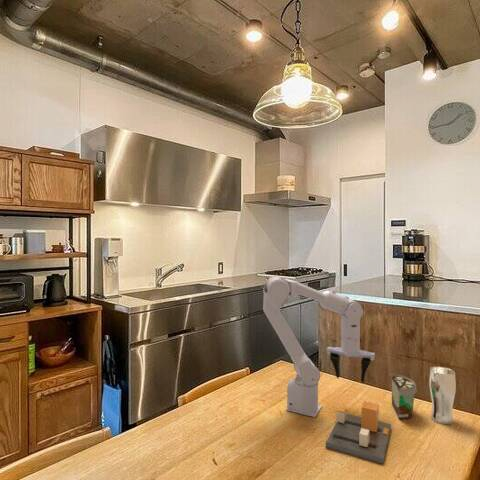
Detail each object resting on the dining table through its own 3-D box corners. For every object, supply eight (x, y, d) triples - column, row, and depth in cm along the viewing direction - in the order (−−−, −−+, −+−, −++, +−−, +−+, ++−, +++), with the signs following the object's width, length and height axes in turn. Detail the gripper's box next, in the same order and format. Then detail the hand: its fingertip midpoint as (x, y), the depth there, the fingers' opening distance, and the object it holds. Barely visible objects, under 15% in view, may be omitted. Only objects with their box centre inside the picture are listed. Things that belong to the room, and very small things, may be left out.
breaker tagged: (337, 421, 103) (337, 410, 103) (339, 416, 106) (339, 405, 106) (344, 423, 102) (344, 411, 102) (346, 418, 105) (346, 407, 105)
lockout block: (361, 428, 100) (361, 407, 100) (363, 422, 103) (364, 401, 103) (376, 432, 98) (376, 410, 98) (378, 425, 101) (378, 404, 101)
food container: (422, 424, 105) (422, 390, 105) (399, 422, 106) (400, 388, 106) (410, 404, 117) (410, 374, 117) (390, 403, 118) (391, 373, 118)
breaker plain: (359, 445, 91) (359, 433, 91) (361, 439, 94) (361, 428, 94) (367, 447, 90) (367, 435, 90) (369, 441, 93) (369, 430, 93)
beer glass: (452, 415, 110) (452, 367, 110) (458, 427, 103) (458, 376, 103) (427, 412, 112) (427, 365, 112) (431, 423, 106) (431, 373, 105)
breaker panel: (325, 447, 93) (325, 441, 93) (341, 417, 109) (341, 411, 109) (382, 464, 86) (382, 457, 86) (390, 429, 102) (390, 423, 102)
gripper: (325, 337, 114) (325, 379, 114) (373, 343, 108) (373, 387, 108) (329, 332, 121) (329, 371, 121) (375, 337, 114) (374, 379, 115)
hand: (350, 378), depth 115 cm, fingers open, 7 cm apart
